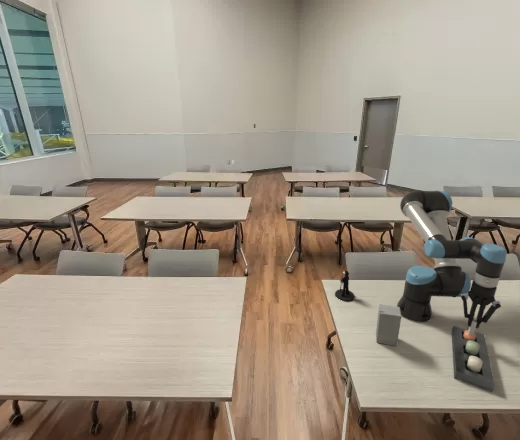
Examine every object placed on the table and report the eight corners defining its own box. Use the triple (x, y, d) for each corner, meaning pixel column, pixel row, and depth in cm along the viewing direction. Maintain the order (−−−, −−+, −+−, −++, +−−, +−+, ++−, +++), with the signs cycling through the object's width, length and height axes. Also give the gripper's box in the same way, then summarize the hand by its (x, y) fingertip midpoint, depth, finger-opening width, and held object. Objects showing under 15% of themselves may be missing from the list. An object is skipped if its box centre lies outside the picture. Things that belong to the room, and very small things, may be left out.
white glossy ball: (467, 369, 103) (469, 361, 102) (466, 361, 106) (468, 354, 105) (480, 374, 101) (483, 366, 100) (479, 366, 104) (482, 358, 103)
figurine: (345, 288, 159) (348, 265, 154) (358, 298, 150) (361, 273, 146) (331, 293, 155) (333, 268, 150) (343, 303, 147) (345, 277, 142)
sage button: (465, 352, 110) (467, 345, 109) (464, 346, 114) (466, 339, 112) (478, 356, 108) (480, 349, 107) (476, 350, 112) (479, 342, 110)
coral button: (462, 341, 118) (464, 334, 117) (462, 335, 121) (464, 328, 120) (474, 345, 116) (476, 338, 115) (473, 339, 119) (475, 332, 118)
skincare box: (395, 336, 124) (400, 306, 118) (397, 348, 117) (403, 316, 112) (374, 332, 126) (379, 302, 121) (375, 343, 120) (380, 312, 115)
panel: (454, 378, 103) (456, 371, 102) (451, 331, 126) (453, 325, 125) (492, 392, 98) (494, 384, 97) (482, 341, 121) (484, 334, 120)
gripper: (465, 283, 110) (452, 333, 117) (508, 292, 104) (491, 344, 111) (463, 274, 116) (451, 322, 124) (504, 283, 110) (489, 333, 117)
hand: (470, 333), depth 117 cm, fingers closed
